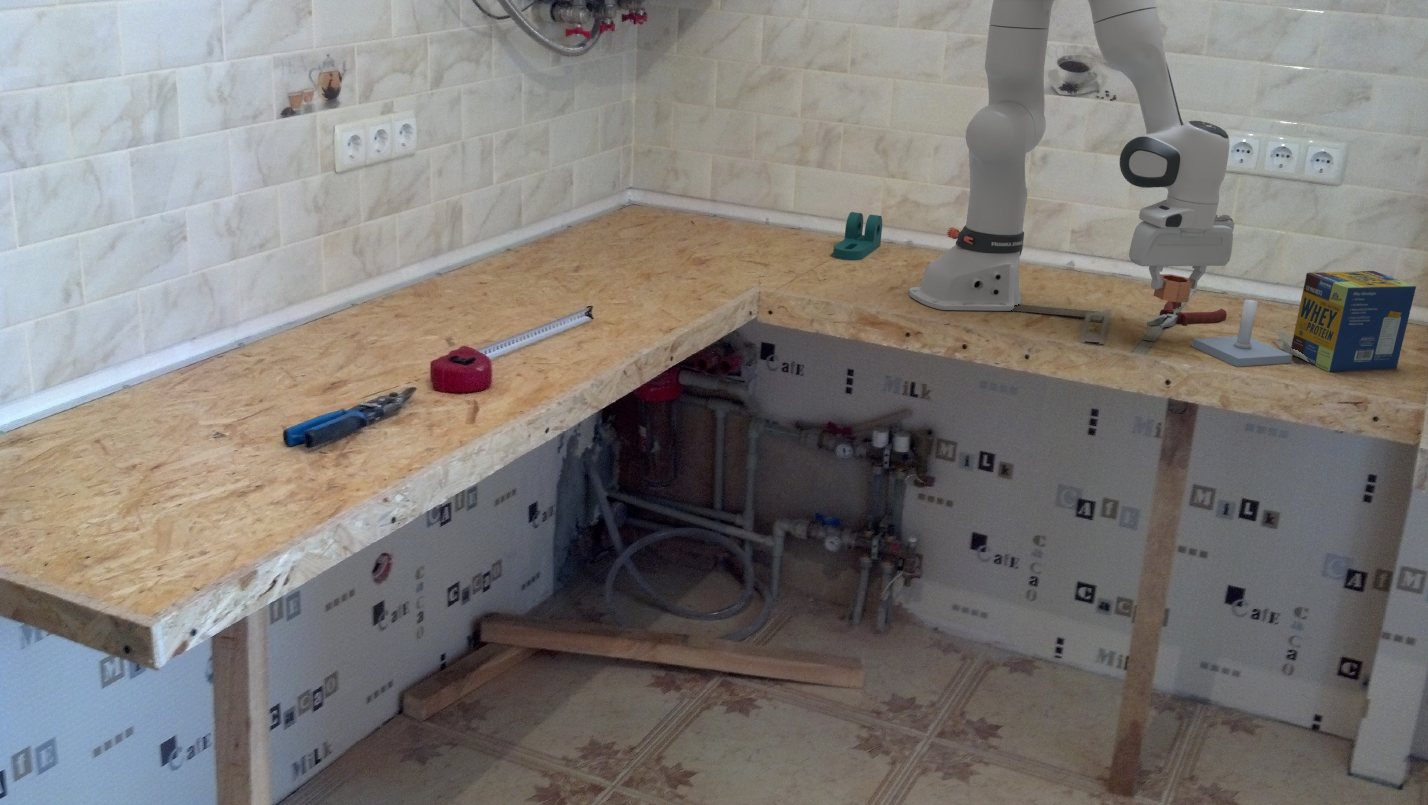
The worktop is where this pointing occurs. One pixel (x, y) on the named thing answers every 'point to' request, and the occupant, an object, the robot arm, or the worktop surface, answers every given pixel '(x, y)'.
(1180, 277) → the ring
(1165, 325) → the pliers
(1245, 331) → the shaft block
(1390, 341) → the protein box
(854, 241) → the bracket
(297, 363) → the worktop surface
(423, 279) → the worktop surface
